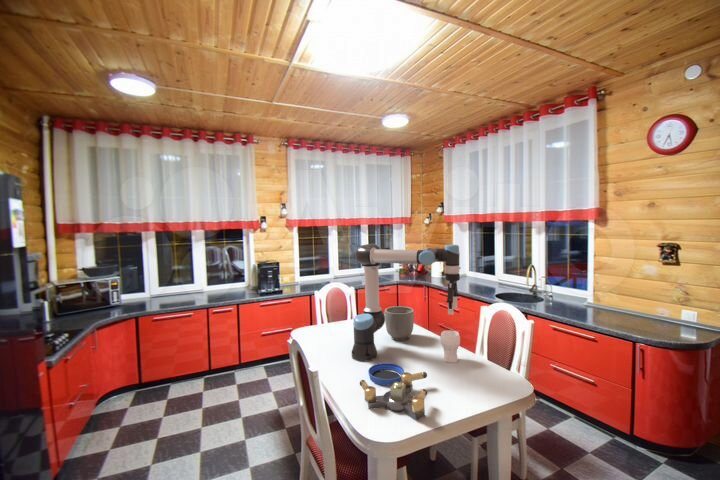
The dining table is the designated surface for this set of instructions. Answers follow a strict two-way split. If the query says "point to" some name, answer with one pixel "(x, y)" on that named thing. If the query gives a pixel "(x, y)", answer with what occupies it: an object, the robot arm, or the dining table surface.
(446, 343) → the cup
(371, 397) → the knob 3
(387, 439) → the dining table surface
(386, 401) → the tribrach
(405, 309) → the planter
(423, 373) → the brass tap handle
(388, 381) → the bowl
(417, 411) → the brass lever handle
